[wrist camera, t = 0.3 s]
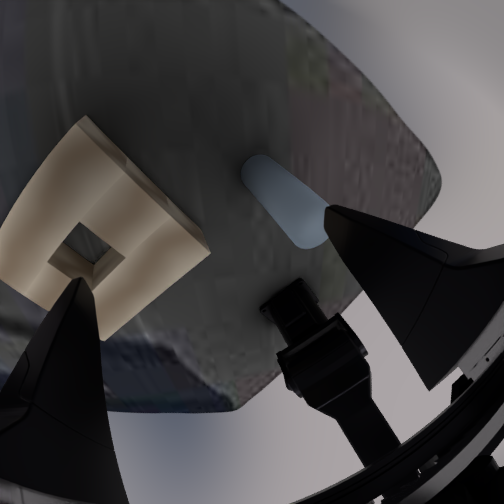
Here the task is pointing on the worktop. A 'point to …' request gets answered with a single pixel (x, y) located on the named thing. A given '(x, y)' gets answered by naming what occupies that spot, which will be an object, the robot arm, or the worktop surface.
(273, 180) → the dowel
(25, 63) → the worktop surface
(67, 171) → the socket block
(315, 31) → the worktop surface
